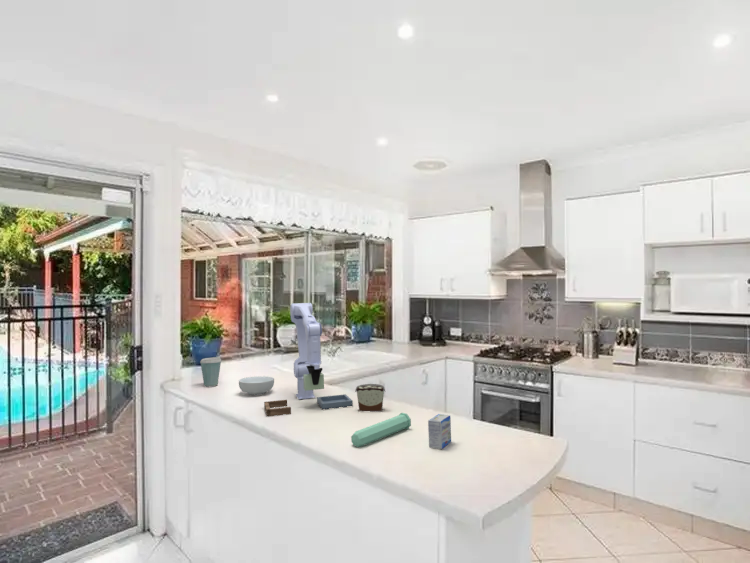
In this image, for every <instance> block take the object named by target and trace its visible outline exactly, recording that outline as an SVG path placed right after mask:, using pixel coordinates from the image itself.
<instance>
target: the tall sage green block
mask: <svg viewBox="0 0 750 563" xmlns="http://www.w3.org/2000/svg"><path fill="white" fill-rule="evenodd" d="M324 376H325V375H324V373H323V372H321V374H320V378H319V383H318V385H313V382H312V376H311V374H303V380H304V390H305V391H307V390H313V391H314V390H315V391H317V390H324V389H325V377H324Z"/></svg>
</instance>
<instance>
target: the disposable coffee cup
mask: <svg viewBox="0 0 750 563" xmlns="http://www.w3.org/2000/svg"><path fill="white" fill-rule="evenodd" d="M199 363H200V368H201V375H202V381H203V385H204V387H205V388H207V387H208V388H210V387H211V388H212V387H217V386H218V383H219V377H220V371H221V363H222V358H221V356H216V357H215V356H214V357H205V358H202V359H201V360H200V362H199Z"/></svg>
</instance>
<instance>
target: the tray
mask: <svg viewBox="0 0 750 563" xmlns="http://www.w3.org/2000/svg"><path fill="white" fill-rule="evenodd" d="M316 403H317V405H318V404H319V405H318V406H319V407H320V409H321V408H322V409H325V410H330V409H329V408H334V409H340V408H339V407H343V408H348V407H347V406H354V405H353V400H352V398H350V397H349V396H348V394H346V393H345V394H344V393H343V394H334V395H326V396H325V395H324V396H318V397H316ZM322 409H321V410H322Z"/></svg>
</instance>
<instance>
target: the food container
mask: <svg viewBox="0 0 750 563" xmlns="http://www.w3.org/2000/svg"><path fill="white" fill-rule="evenodd" d="M355 387H356V388H355V392H354V393H356V396H357V404H358V412H359V411H370V413H371V412H372V413H373V412H375V413H376V412H377V413H378V412H379V413H381V412H383V408H384V407H383V406H384V405H383V404H384V394H385V392H386V388H385V386H384V385H383V384H379V383H365V384H364V383H363V384H360V385H357V386H355Z"/></svg>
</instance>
